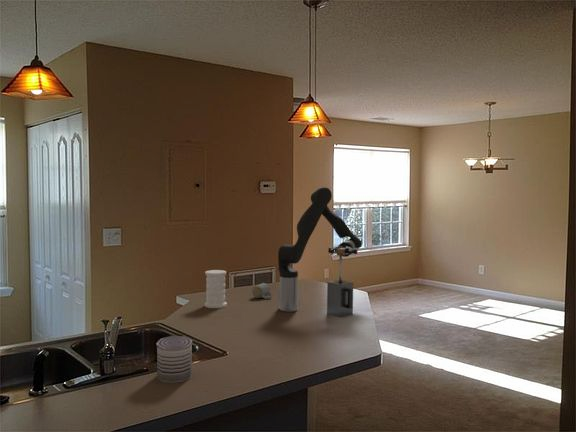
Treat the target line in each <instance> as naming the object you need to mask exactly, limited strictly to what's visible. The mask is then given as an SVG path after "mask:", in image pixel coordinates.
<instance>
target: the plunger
mask: <svg viewBox="0 0 576 432" xmlns="http://www.w3.org/2000/svg"><path fill="white" fill-rule="evenodd" d="M336 255H337V256H339V259H338V260H339V263H338V264H339V269H338V271H339V272H338V276H339V277H338V280H339V283H342V280H343V279H342V278H343V276H342V275H343V273H342V272H343V271H342V270H343V257H344V256H343V255H345V249H342V248H339V249H337V254H336Z"/></svg>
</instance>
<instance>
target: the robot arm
mask: <svg viewBox="0 0 576 432" xmlns="http://www.w3.org/2000/svg"><path fill="white" fill-rule="evenodd" d="M332 196H333V194H332V190H331V189H330V188H329V187H325V186H322V187H320V188H319V187H318V189H316V190H315V191H314V192H313V193H312V194H311V196H310V201H311V205H310V206H309V207H307V209H306V210H305V212H303V214H302V215H301V217H300V218H299V221H298V222H297V225H296V232H297V240H296V242H295V244H294V245H293V244H282V245H281V246H280V247H279V249H278V254H277V257H278V258H277V259H278V260H277V262H278V273H279V290H278V303H277V304H278V310H280V312H281V311H282V312H286V313H287V312H296V311H298V309H299V308H298V303H299V301H298V300H299V299H298V296H299V293H298V291H299V290H298V289H299V287H298V286H299V272H298V270H297V269H295V268H294V267H293V266H292V265H291V264H293V265H294V264H298V263H299V262H300V260H301V258H302V257H303V255H304V252H305V250H306V247H307V244H308V242H309V240H310V238H311V236H312V234H313V233H314V232H315V231H314V230H315V229H316V227H317V226H318V223H319V221H320V219H321V217H322V216H323V217H324V218H325V220H327V222H328V223H329V224H330V225H331V227H332V228H333V230H334V231H335V233H336V235H337V236H338V238H340V239H344V238H346V237H347V238H349V239H347V240H344V241H342V242H340V244H339V245H338V246H335V247H333V246H330V247H328V248H327V249H328V252H327V253H328V254H331V255H333V254H334V255H335V254H336V255H337V249H339V248H342V249H345V255H343V256H342V257H345V258H346V257H350V256H351V255H353V254H354V255H357V254H358V253H359V252H358V250H359V249H360V248H361V247H362V246H363V244H362V241H361V239H360V238H359V237H358V236H357V235H355V234H354V233H353V232H352V231H351V229H350V228H349V227H348V225H347V224H346V222H345V221H344V219H342V218H341V217H340V216H339V215H337V214H336V213H334V212H333V211H332V210H331V209H330V207H328V204H329V203H330V202H331V200H332Z"/></svg>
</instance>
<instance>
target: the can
mask: <svg viewBox="0 0 576 432" xmlns="http://www.w3.org/2000/svg"><path fill="white" fill-rule="evenodd" d="M193 341H194V340H192V339H191V338H189V337H188V336H184V335H182V336H181V335H169V336H166V337H162V338H160V339H158V340H157V342H156V343H155V344H156V352H157V353H156V354H157V355H156V359H157V361H156V362H157V363H156V371H157V373H156V374H157V375H156V376H157V377H156V378H157V380H159V381H160V382H161V383H169V384H173V383H182V382H185V381H187V380H190V379H191V377H192V375H193V372H192V371H193V366H192V365H193V356H192V355H193V349H192V346H193V345H192V343H193Z"/></svg>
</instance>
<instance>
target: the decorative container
mask: <svg viewBox="0 0 576 432" xmlns="http://www.w3.org/2000/svg"><path fill="white" fill-rule="evenodd" d="M204 273H205V274H204V275H206V278H205V280H206V283H205V284H206V285H205V287H206V290H205V293H206V296H205V299H206V302H204V307H205V308H207V309H220V308H221V309H222V308H225V307H227V306H228V303H227V301H226V286H227V285H226V282H225V281H226V275H227V270H222V269H211V270H206V271H205V272H204Z"/></svg>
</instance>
